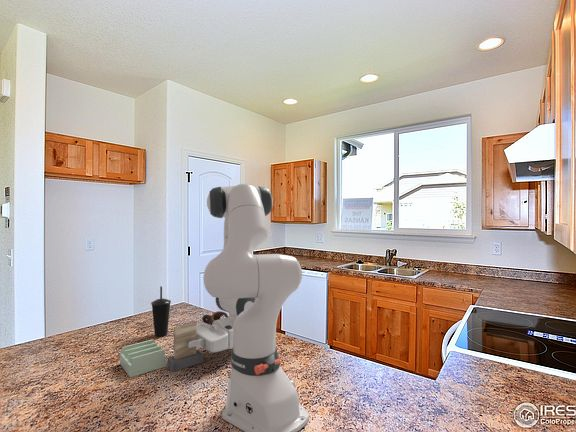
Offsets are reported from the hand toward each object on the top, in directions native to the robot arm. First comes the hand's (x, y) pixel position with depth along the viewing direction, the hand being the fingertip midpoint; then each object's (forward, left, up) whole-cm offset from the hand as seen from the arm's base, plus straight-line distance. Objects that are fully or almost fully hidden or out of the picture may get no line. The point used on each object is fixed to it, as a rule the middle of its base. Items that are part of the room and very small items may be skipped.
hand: (184, 342), depth 103 cm
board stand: (0, 0, -8) cm, 8 cm away
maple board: (0, 0, -8) cm, 8 cm away
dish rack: (+9, +10, -8) cm, 15 cm away
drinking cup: (+32, -4, -8) cm, 33 cm away
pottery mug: (+24, -25, -8) cm, 35 cm away
